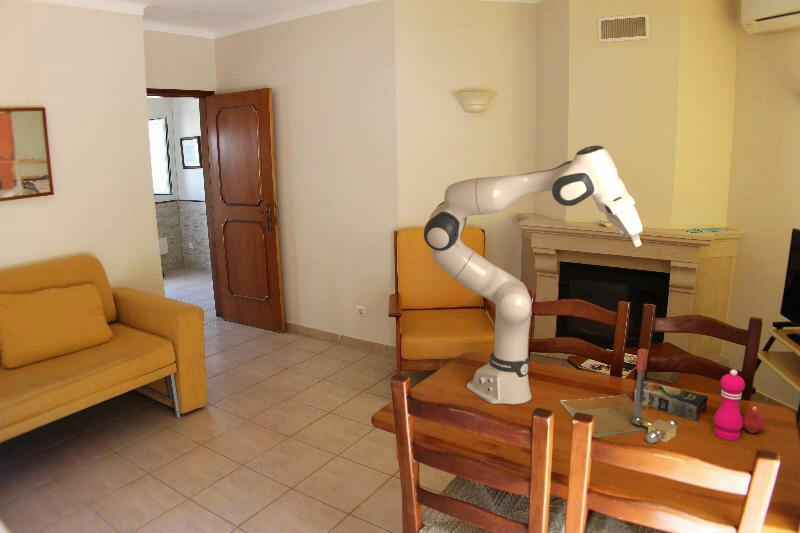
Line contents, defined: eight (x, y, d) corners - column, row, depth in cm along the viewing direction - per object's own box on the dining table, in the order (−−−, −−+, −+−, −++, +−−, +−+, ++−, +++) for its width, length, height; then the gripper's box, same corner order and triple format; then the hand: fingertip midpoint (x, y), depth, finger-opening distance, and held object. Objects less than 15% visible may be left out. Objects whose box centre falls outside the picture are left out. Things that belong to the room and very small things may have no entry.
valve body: (628, 435, 164) (629, 425, 163) (652, 420, 173) (653, 411, 172) (658, 447, 157) (659, 437, 157) (682, 431, 166) (683, 421, 165)
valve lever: (631, 424, 169) (637, 350, 164) (635, 421, 171) (641, 348, 166) (638, 426, 168) (644, 351, 163) (642, 424, 169) (648, 350, 164)
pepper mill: (745, 442, 159) (753, 375, 155) (717, 440, 160) (724, 373, 156) (735, 430, 166) (743, 365, 162) (708, 428, 167) (715, 364, 163)
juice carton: (630, 403, 184) (631, 386, 183) (641, 394, 192) (642, 377, 190) (697, 423, 171) (699, 404, 170) (706, 413, 178) (708, 394, 177)
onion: (763, 439, 161) (766, 413, 159) (739, 434, 164) (742, 408, 162) (763, 431, 165) (766, 405, 164) (740, 426, 168) (743, 401, 167)
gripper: (591, 198, 170) (610, 238, 173) (612, 211, 150) (634, 255, 153) (611, 188, 168) (630, 228, 171) (635, 199, 149) (656, 244, 152)
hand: (632, 241), depth 162 cm, fingers open, 8 cm apart
